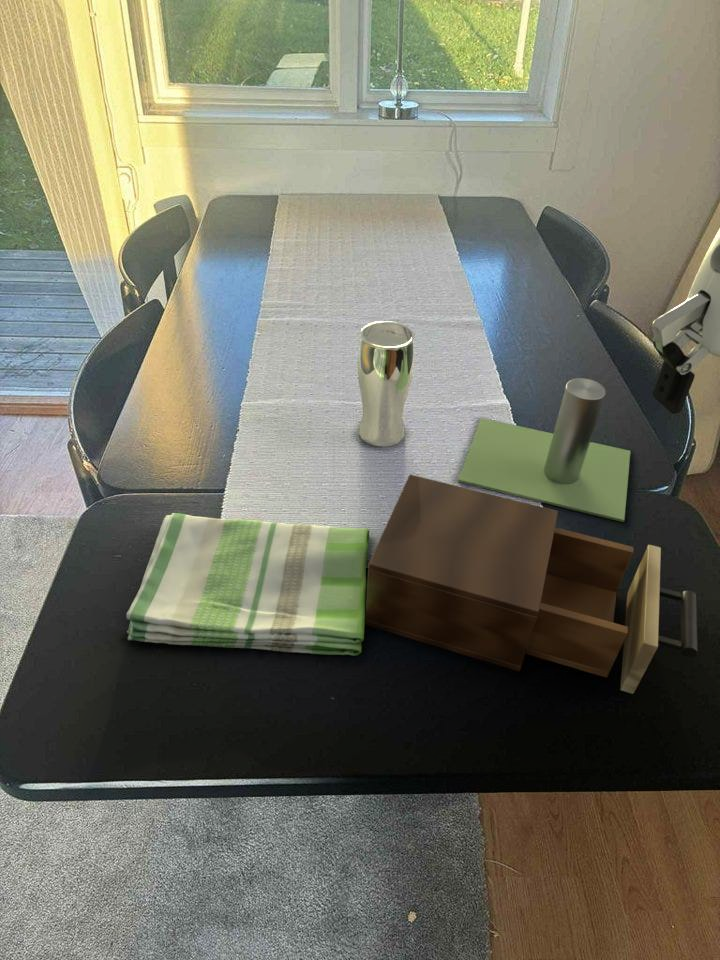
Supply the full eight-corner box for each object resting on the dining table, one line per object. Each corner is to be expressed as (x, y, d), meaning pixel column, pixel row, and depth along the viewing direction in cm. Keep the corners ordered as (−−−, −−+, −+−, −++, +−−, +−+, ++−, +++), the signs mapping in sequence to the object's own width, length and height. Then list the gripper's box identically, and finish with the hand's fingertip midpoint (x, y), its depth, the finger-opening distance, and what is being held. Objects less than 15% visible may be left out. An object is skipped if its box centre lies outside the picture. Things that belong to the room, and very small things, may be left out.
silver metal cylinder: (580, 466, 89) (607, 382, 81) (577, 487, 86) (604, 402, 78) (546, 458, 90) (568, 375, 82) (541, 479, 87) (564, 394, 79)
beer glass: (417, 433, 94) (428, 334, 84) (383, 456, 90) (389, 355, 81) (379, 411, 98) (385, 314, 88) (344, 432, 94) (346, 333, 84)
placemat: (629, 453, 93) (630, 450, 92) (623, 522, 82) (624, 520, 82) (481, 420, 97) (481, 417, 97) (458, 482, 87) (458, 479, 87)
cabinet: (540, 570, 76) (558, 510, 70) (519, 671, 67) (538, 611, 61) (403, 534, 80) (409, 473, 74) (364, 625, 70) (368, 563, 64)
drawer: (680, 606, 72) (705, 558, 67) (680, 708, 63) (709, 661, 58) (501, 558, 76) (513, 510, 71) (477, 648, 67) (489, 599, 63)
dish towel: (169, 523, 80) (164, 500, 78) (369, 533, 80) (370, 511, 77) (124, 648, 67) (117, 625, 65) (363, 661, 67) (364, 639, 65)
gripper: (733, 230, 46) (654, 437, 57) (929, 208, 50) (820, 404, 62) (663, 192, 51) (603, 388, 63) (845, 175, 56) (759, 361, 67)
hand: (711, 396), depth 62 cm, fingers open, 9 cm apart
